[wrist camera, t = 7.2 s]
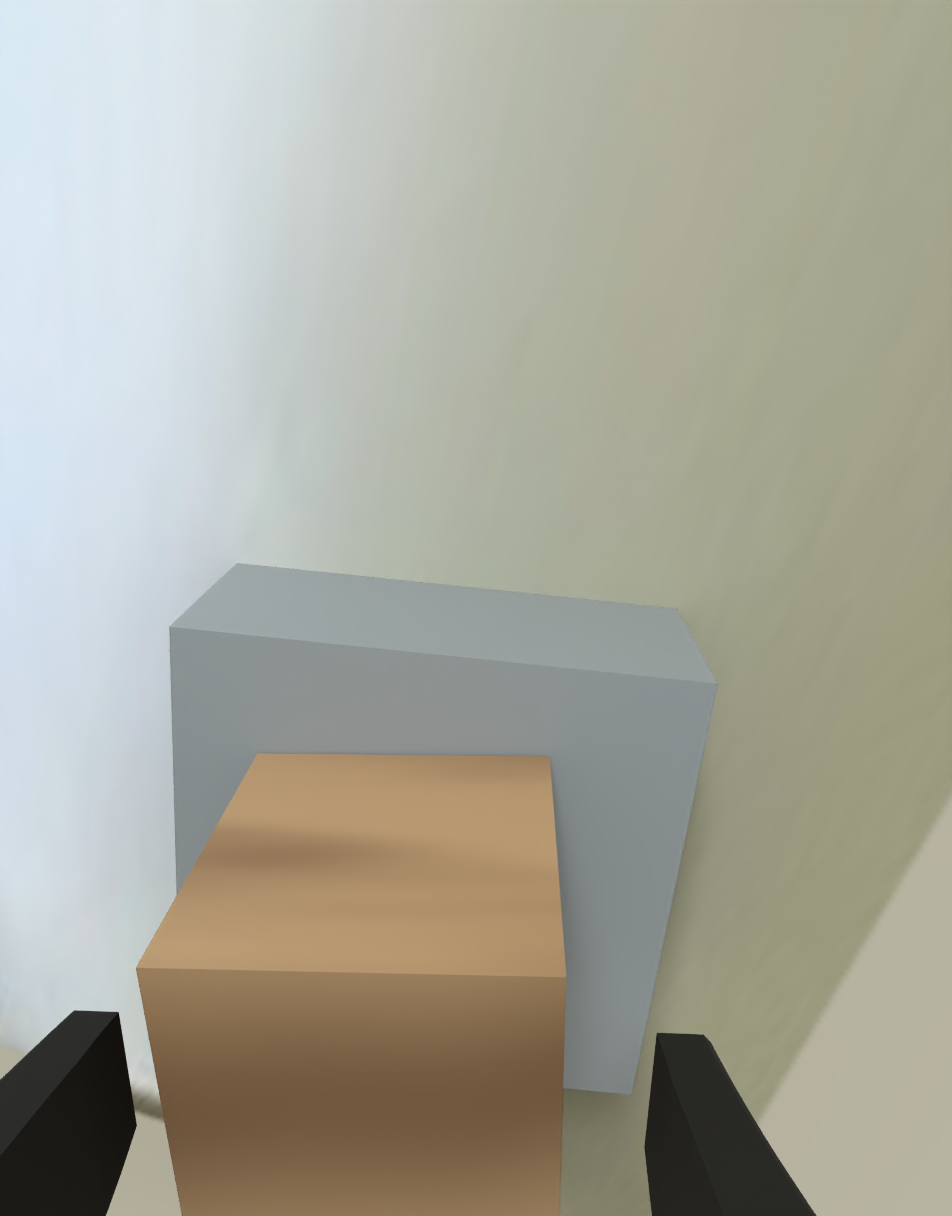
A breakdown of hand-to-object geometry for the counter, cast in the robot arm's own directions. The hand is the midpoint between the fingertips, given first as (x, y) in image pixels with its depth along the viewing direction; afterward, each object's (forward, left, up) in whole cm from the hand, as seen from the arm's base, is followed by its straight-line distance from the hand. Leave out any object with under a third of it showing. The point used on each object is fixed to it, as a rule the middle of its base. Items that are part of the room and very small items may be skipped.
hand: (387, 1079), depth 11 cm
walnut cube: (0, 0, -4) cm, 4 cm away
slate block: (0, 0, -8) cm, 8 cm away
